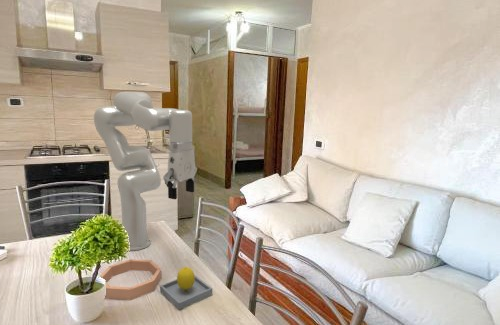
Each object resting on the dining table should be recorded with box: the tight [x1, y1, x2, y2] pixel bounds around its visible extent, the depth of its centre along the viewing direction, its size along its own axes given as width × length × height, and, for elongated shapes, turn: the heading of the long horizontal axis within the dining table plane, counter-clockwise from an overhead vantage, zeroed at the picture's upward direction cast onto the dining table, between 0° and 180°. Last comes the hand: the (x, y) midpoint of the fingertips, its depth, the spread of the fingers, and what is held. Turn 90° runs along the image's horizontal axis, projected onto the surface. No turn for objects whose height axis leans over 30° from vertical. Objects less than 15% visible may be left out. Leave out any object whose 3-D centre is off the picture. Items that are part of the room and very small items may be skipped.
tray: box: [159, 274, 213, 311], centre depth 105 cm, size 12×12×2 cm
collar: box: [99, 258, 162, 301], centre depth 110 cm, size 18×18×4 cm
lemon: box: [176, 266, 196, 290], centre depth 104 cm, size 6×6×8 cm
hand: (181, 195), depth 114 cm, fingers open, 9 cm apart
